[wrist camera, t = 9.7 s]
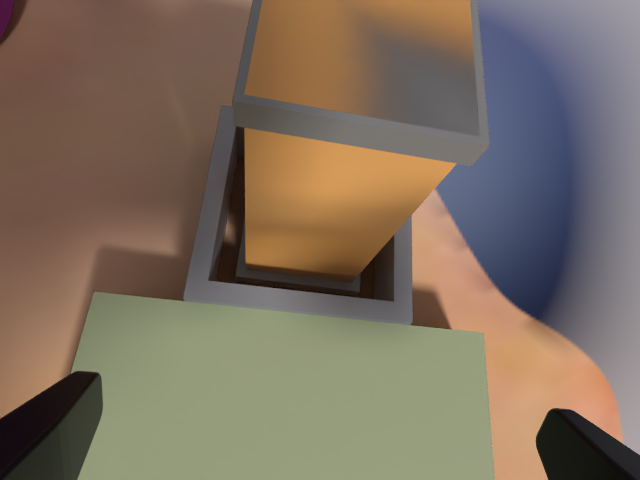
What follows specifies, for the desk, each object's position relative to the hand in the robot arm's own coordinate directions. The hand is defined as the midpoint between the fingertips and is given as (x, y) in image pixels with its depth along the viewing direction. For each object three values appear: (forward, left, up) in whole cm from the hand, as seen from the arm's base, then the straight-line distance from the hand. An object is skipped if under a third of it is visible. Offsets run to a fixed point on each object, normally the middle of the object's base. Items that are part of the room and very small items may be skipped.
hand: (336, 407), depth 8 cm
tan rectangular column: (+7, +4, -11) cm, 13 cm away
